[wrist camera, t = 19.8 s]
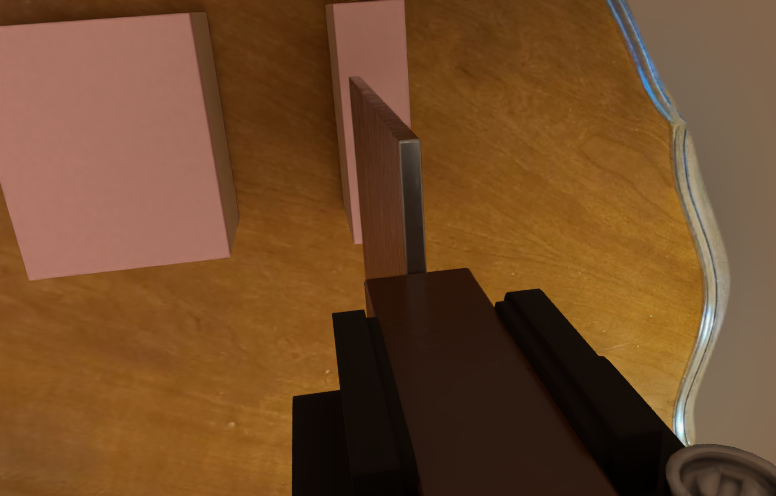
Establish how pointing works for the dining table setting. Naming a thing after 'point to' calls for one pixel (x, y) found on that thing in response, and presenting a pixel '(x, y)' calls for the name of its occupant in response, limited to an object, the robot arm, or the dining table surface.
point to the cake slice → (365, 76)
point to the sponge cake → (114, 144)
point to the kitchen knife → (453, 343)
